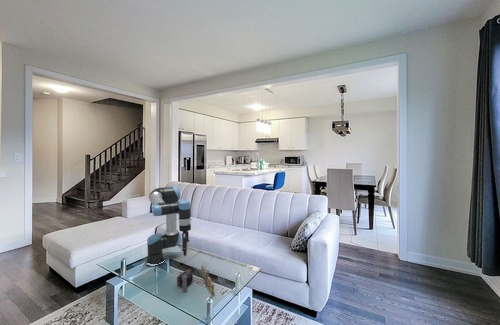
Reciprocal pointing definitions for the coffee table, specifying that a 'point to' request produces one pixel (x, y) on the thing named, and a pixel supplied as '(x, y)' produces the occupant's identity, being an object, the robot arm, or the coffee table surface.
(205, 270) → the gate
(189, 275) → the rock
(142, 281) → the coffee table surface
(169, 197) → the robot arm
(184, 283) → the posts
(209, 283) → the fence
